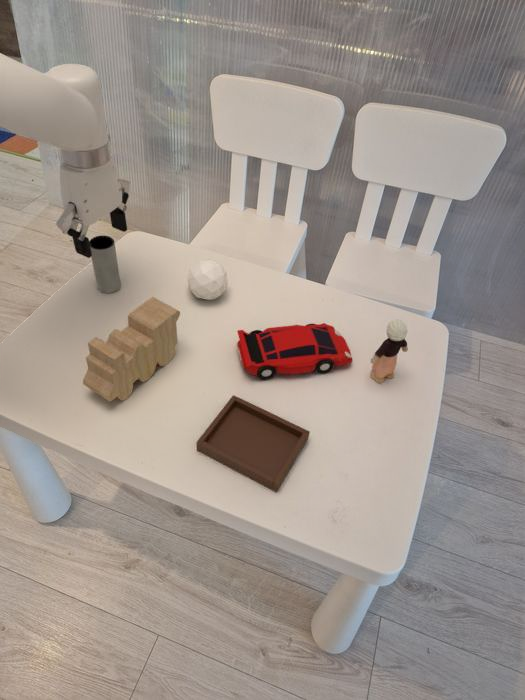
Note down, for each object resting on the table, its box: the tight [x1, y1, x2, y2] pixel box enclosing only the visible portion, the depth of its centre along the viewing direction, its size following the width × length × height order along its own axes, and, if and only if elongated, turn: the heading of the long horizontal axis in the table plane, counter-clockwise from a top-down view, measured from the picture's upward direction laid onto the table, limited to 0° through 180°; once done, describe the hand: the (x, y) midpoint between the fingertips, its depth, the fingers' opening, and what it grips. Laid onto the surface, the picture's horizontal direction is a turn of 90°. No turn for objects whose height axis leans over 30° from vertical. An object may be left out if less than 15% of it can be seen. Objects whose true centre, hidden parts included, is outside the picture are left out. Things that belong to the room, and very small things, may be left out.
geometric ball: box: [187, 259, 229, 301], centre depth 101 cm, size 8×8×8 cm
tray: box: [195, 394, 311, 493], centre depth 79 cm, size 14×11×2 cm
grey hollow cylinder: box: [89, 235, 122, 294], centre depth 100 cm, size 4×4×10 cm
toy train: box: [82, 296, 181, 402], centre depth 85 cm, size 6×17×10 cm, turn 146°
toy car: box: [236, 322, 353, 381], centre depth 92 cm, size 10×20×5 cm, turn 106°
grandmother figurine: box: [369, 319, 409, 384], centre depth 87 cm, size 8×4×13 cm, turn 132°
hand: (102, 241), depth 96 cm, fingers open, 9 cm apart
